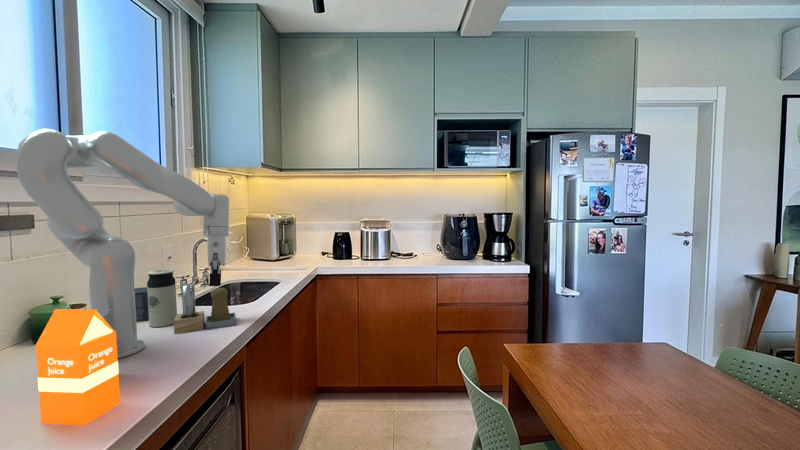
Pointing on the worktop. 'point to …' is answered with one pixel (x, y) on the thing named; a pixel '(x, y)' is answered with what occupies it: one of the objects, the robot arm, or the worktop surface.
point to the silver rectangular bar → (188, 301)
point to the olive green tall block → (219, 305)
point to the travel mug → (161, 298)
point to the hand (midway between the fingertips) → (215, 283)
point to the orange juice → (77, 367)
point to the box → (141, 304)
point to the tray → (220, 322)
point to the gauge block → (189, 323)
